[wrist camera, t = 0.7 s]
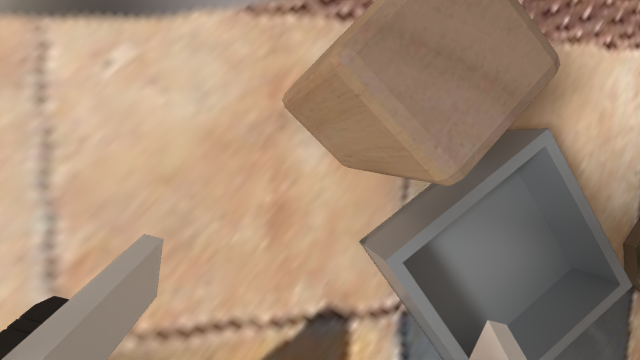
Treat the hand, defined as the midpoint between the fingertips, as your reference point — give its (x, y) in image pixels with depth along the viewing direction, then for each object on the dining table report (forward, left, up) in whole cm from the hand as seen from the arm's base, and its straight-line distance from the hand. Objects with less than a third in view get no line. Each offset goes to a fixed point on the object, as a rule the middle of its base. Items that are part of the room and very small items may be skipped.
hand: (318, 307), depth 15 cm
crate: (+16, -19, -23) cm, 34 cm away
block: (+13, +4, -24) cm, 27 cm away
